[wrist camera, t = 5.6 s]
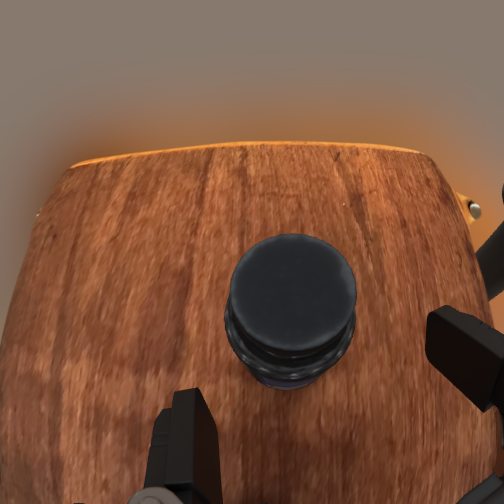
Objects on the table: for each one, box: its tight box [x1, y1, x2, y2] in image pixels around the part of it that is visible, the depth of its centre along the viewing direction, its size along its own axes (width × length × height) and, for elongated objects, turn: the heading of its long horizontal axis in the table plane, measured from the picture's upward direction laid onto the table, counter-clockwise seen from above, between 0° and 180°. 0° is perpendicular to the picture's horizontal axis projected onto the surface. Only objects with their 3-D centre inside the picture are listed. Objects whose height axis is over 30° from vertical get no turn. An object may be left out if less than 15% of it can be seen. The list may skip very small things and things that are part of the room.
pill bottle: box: [224, 234, 357, 390], centre depth 15 cm, size 6×6×11 cm
